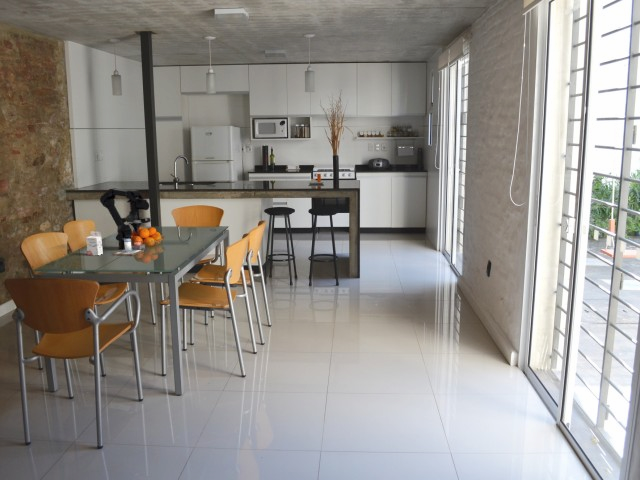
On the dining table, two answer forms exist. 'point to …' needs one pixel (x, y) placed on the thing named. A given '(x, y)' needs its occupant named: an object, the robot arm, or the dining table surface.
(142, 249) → the button housing
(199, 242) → the dining table surface
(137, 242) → the button
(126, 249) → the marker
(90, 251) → the ink cartridge box
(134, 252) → the picture board
